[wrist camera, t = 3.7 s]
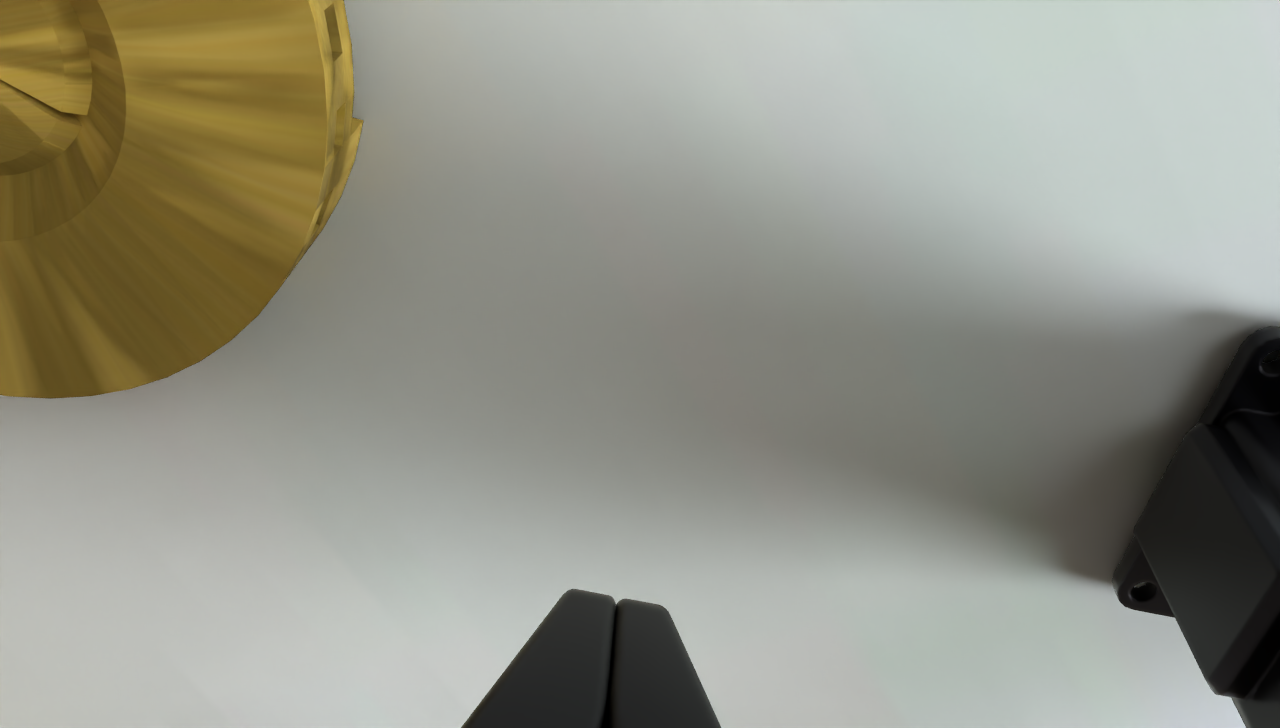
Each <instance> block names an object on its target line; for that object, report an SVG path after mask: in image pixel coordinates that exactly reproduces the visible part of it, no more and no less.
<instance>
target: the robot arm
mask: <svg viewBox="0 0 1280 728" xmlns="http://www.w3.org/2000/svg"><path fill="white" fill-rule="evenodd" d="M1275 350H1280V327H1272V326H1270V327H1266V328H1263V329H1260V330H1257V331H1256V332H1254V333H1253V334H1251V335H1249V336H1248V337H1247V338H1246V339H1245V341H1244V342H1243V343H1242V344H1241V346H1240V347H1239V349H1238V351H1237V353H1236V355H1235V356H1234V358H1233V360H1232V362H1231V364H1230V365H1229V367H1228V369H1227V371H1226V373H1225V374H1224V376H1223V378H1222V380H1221V382H1220V383H1219V385H1218V387H1217V389H1216V391H1215V392H1214V394H1213V396H1212V398H1211V400H1210V401H1209V403H1208V405H1207V407H1206V409H1205V410H1204V412H1203V414H1202V416H1201V418H1200V419H1199V421H1198V423H1197V425H1196V426H1195V427H1193V428H1192V429H1191V430H1190V431H1189V432H1187V434H1186V435H1185V437H1184V439H1183V441H1182V442H1181V444H1180V446H1179V448H1178V450H1177V451H1176V453H1175V455H1174V457H1173V459H1172V460H1171V462H1170V464H1169V466H1168V468H1167V469H1166V471H1165V473H1164V475H1163V477H1162V478H1161V480H1160V482H1159V484H1158V486H1157V487H1156V489H1155V491H1154V493H1153V495H1152V497H1151V498H1150V500H1149V502H1148V504H1147V506H1146V507H1145V509H1144V511H1143V513H1142V515H1141V516H1140V518H1139V520H1138V522H1137V524H1136V525H1135V528H1134V534H1135V536H1134V538H1133V540H1132V542H1131V543H1130V545H1129V547H1128V549H1127V550H1126V552H1125V554H1124V556H1123V558H1122V559H1121V561H1120V563H1119V565H1118V567H1117V568H1116V570H1115V572H1114V574H1113V578H1112V584H1113V588H1114V590H1115V592H1116V594H1117V597H1118V599H1119V601H1120V602H1121V603H1122V604H1123V605H1124V606H1125V607H1128V608H1130V609H1133V610H1138V611H1143V612H1148V613H1154V614H1159V615H1164V616H1169V617H1175V618H1176V620H1177V622H1178V624H1179V627H1180V629H1181V631H1182V633H1183V635H1184V637H1185V639H1186V641H1187V643H1188V645H1189V647H1190V649H1191V651H1192V653H1193V655H1194V657H1195V659H1196V661H1197V663H1198V665H1199V668H1200V670H1201V672H1202V674H1203V676H1204V678H1205V680H1206V681H1207V683H1208V685H1209V686H1210V688H1211V690H1212V691H1213V692H1214V693H1215V694H1217V695H1222V696H1228V697H1231V698H1232V700H1233V702H1234V704H1235V706H1236V708H1237V710H1238V712H1239V714H1240V716H1241V718H1242V720H1243V722H1244V724H1245V726H1246V728H1280V356H1279V357H1278V358H1277V359H1276V360H1273V361H1271V362H1269V363H1262V362H1263V359H1264V358H1265V357H1266V356H1267V355H1268V354H1269V353H1271V352H1273V351H1275ZM1142 582H1147V583H1146V584H1145V585H1143V586H1141V587H1134V586H1135V585H1137V584H1139V583H1142ZM461 728H721V726H720V724H719V722H718V719H717V717H716V715H715V713H714V711H713V708H712V706H711V704H710V702H709V700H708V697H707V695H706V693H705V691H704V689H703V686H702V684H701V682H700V680H699V678H698V675H697V673H696V671H695V669H694V667H693V664H692V662H691V660H690V658H689V655H688V653H687V651H686V649H685V647H684V644H683V642H682V640H681V638H680V636H679V633H678V631H677V629H676V627H675V625H674V622H673V620H672V618H671V616H670V614H669V612H668V611H667V609H666V608H664V607H663V606H661V605H657V604H651V603H646V602H641V601H636V600H630V599H622V600H620V601H619V602H618V603H617V604H615V601H614V599H613V598H612V597H611V596H609V595H604V594H599V593H593V592H588V591H583V590H577V589H571V590H568V591H567V592H566V593H564V594H563V595H562V597H561V598H560V599H559V601H558V602H557V603H556V605H555V606H554V607H553V608H552V610H551V611H550V612H549V614H548V615H547V616H546V618H545V619H544V620H543V621H542V623H541V624H540V625H539V627H538V628H537V629H536V631H535V632H534V633H533V635H532V636H531V637H530V638H529V640H528V641H527V642H526V644H525V645H524V646H523V648H522V649H521V650H520V652H519V653H518V654H517V655H516V657H515V658H514V659H513V661H512V662H511V663H510V665H509V666H508V667H507V668H506V670H505V671H504V672H503V674H502V675H501V676H500V678H499V679H498V680H497V682H496V683H495V684H494V685H493V687H492V688H491V689H490V691H489V692H488V693H487V695H486V696H485V697H484V698H483V700H482V701H481V702H480V704H479V705H478V706H477V708H476V709H475V710H474V712H473V713H472V714H471V715H470V717H469V718H468V719H467V721H466V722H465V723H464V725H463V726H462V727H461Z"/></svg>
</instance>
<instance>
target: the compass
mask: <svg viewBox="0 0 1280 728" xmlns="http://www.w3.org/2000/svg"><path fill="white" fill-rule="evenodd" d="M353 99H354V82H353V63H352V44H351V39H350V33H349V28H348V22H347V16H346V11H345V5H344V0H0V395H4V396H13V397H33V398H67V397H83V396H94V395H100V394H105V393H111V392H116V391H122V390H128V389H132V388H135V387H138V386H141V385H144V384H147V383H151V382H154V381H157V380H160V379H163V378H166V377H169V376H171V375H173V374H175V373H177V372H179V371H181V370H183V369H185V368H187V367H189V366H191V365H194V364H196V363H198V362H200V361H201V360H203V359H204V358H206V357H207V356H209V355H210V354H212V353H213V352H215V351H216V350H218V349H219V348H221V347H222V346H224V345H225V344H227V343H228V342H230V341H231V340H232V339H233V338H234V337H235V336H236V335H238V334H239V333H240V332H241V331H242V330H243V329H244V328H245V327H246V326H247V325H248V324H249V323H250V322H251V321H253V320H254V319H255V318H256V317H257V316H258V315H259V314H260V312H261V311H262V310H263V309H264V307H265V306H266V305H267V304H268V302H269V301H270V300H271V298H272V297H273V296H274V295H275V293H276V292H277V291H278V289H279V288H280V287H281V286H282V284H283V283H284V282H285V280H286V279H287V277H288V276H289V275H290V273H291V272H292V271H293V269H294V268H295V266H296V265H297V264H298V262H299V261H300V260H301V258H302V257H303V256H304V254H305V253H306V251H307V250H308V249H309V247H310V246H311V245H312V243H313V242H314V241H315V239H316V238H317V236H318V235H319V234H320V232H321V231H322V230H323V228H324V226H325V224H326V223H327V221H328V219H329V217H330V216H331V214H332V212H333V210H334V208H335V207H336V205H337V203H338V201H339V199H340V198H341V196H342V193H343V190H344V188H345V185H346V182H347V180H348V177H349V174H350V172H351V169H352V166H353V164H354V161H355V157H356V152H357V148H358V143H359V139H360V134H361V130H362V125H363V120H360V119H356V118H353V117H352V112H353Z"/></svg>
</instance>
